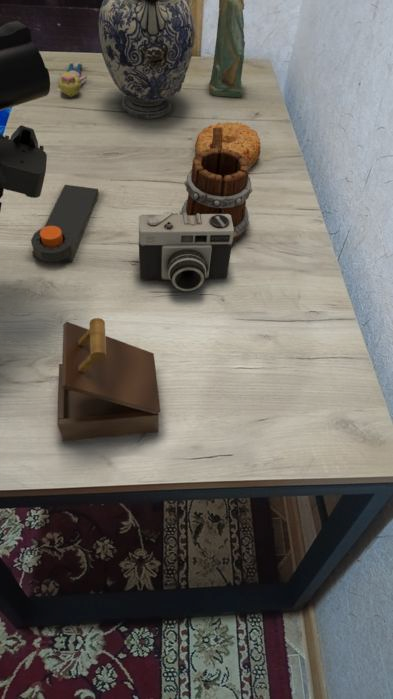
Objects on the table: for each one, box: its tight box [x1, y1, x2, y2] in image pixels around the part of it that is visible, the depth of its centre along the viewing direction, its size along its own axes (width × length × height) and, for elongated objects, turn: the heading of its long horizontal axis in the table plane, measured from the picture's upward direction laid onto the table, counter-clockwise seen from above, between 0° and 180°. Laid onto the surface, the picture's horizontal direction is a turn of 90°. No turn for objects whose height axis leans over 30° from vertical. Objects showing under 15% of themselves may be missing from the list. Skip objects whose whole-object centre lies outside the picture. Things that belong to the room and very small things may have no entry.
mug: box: [178, 127, 253, 242], centre depth 80 cm, size 12×14×15 cm
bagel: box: [194, 121, 262, 169], centre depth 96 cm, size 13×14×5 cm
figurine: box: [58, 61, 88, 97], centre depth 110 cm, size 6×4×15 cm
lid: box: [61, 317, 161, 414], centre depth 54 cm, size 12×8×5 cm
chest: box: [56, 363, 160, 442], centre depth 60 cm, size 11×8×4 cm
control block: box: [30, 184, 100, 263], centre depth 80 cm, size 20×6×3 cm, turn 173°
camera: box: [138, 212, 234, 292], centre depth 72 cm, size 14×9×10 cm, turn 88°
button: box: [40, 226, 63, 248], centre depth 75 cm, size 3×3×2 cm
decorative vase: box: [98, 0, 196, 120], centre depth 96 cm, size 21×19×28 cm
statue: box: [209, 0, 246, 98], centre depth 104 cm, size 7×8×25 cm
